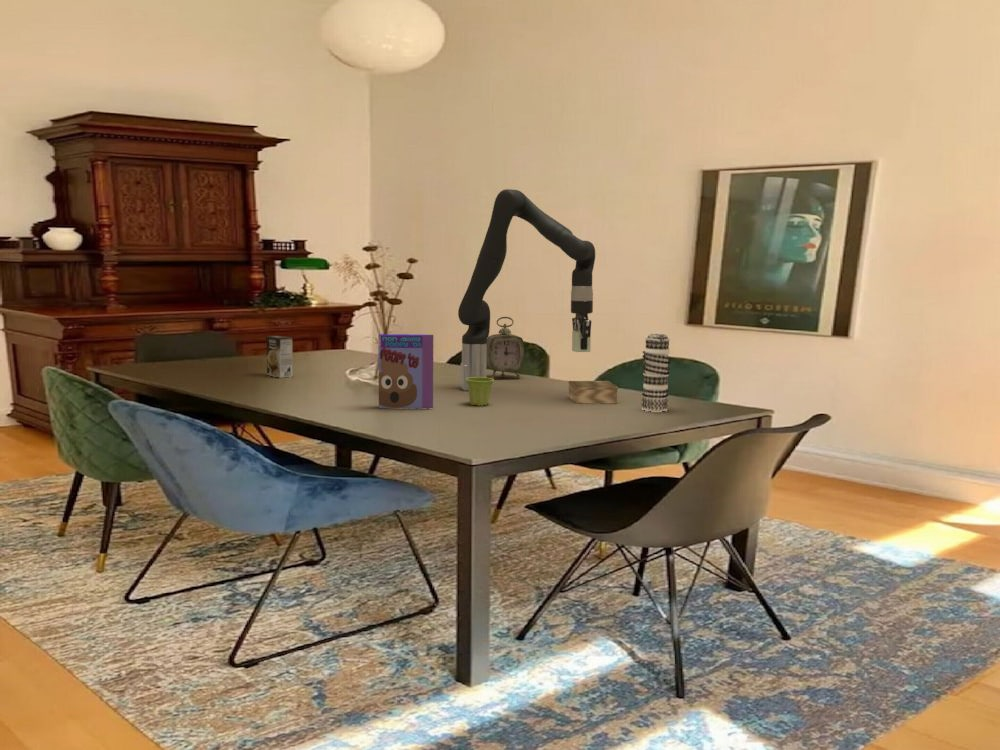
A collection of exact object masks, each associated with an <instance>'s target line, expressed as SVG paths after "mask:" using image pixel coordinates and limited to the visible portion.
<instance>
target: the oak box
mask: <svg viewBox="0 0 1000 750" xmlns="http://www.w3.org/2000/svg"><path fill="white" fill-rule="evenodd" d="M618 390H619V387H618V386H617V385H615V384H613V383H612V382H611V381H609V380H569V381H568V398H570V397H571V398H570V400H572V399H573V400H574V401H575V402H576V403H618ZM573 400H572V401H573ZM574 401H573V402H574ZM575 402H574V403H575ZM576 403H575V404H576Z"/></svg>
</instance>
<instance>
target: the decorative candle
mask: <svg viewBox="0 0 1000 750" xmlns="http://www.w3.org/2000/svg"><path fill="white" fill-rule="evenodd" d="M670 341H671V339H670V338H669V337H668V335H666V334H662V333H651V334H649V335H647V338H645V347H644V350H643V351H642V354H643V355H642V358H643V359H644V360H643V361H642V365H643V366H642V369H643V370H644V371H643V372H642V375H643V386H642V387H643V388H641V390H642V393H641V395H642V396H643V397H642V398H641V402H642V403H641V406H642V407H641V410H642V411H643V410H645V411H644V412H648V411H651V412H650V413H663V412H662V411H666V412H668V411H667V410H668V407H669V404H668V402H669V399H668V398H667V397H669V394H668V392H669V388H668V386H669V385H668V377H669V376H670V374H671V373H670V372H669V371H670V370H671V368H670V367H669V365H670V364H671V363H672V362H671V361H670V360H672V358H671V356H669V354H670Z"/></svg>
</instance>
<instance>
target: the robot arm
mask: <svg viewBox="0 0 1000 750" xmlns="http://www.w3.org/2000/svg"><path fill="white" fill-rule="evenodd" d="M496 195H497V196H496V197H495V200H494V204H493V207H492V212H491V217H490V221H489V225H488V228H487V230H486V234H485V236H484V240H483V243H482V245H481V248H480V251H479V254H478V257H477V260H476V264H475V266H474V270H473V272H472V275H471V277H470V281H469V284H468V286H467V289H466V291H465V293H464V295H463V297H462V299H461V302H460V305H459V307H458V313H457V314H458V315H457V316H458V319H459V322H460V323H461V324H462V325H465V326H468V327H467V330H466V332H464V333H463V334H462V336H461V362H460V370H459V371H460V374H459V375H460V376H459V377H460V379H459V380H460V382H459V383H460V387H459V388H460V389H462V391H469V389H468V384H467V381H466V378H470V377H486V378H487V371H488V370H487V367H488V366H487V339H488V336H490V330H491V329H490V327H491V309H490V306H489V304H488V302H486V301H485V300H483V299H484V297H485V294H486V293H487V290H488V289H489V288H490V287H491V285H492V284H493V282H495V280H496V278H497V277H498V276H499V275H500V273H501V270H502V269H503V266H504V263H505V259H506V256H507V251H508V250H507V247H508V246H507V245H508V244H507V243H508V242H507V239H508V231H509V227H510V224H511V222H512V220H513V217H518V218H519V219H522V220H524V221H525V222H527V223H528V224H530V225H531V226H533V227H534V228H535V230H537V232H538V233H539V234H540V235H541V236H542V237H544V238H545V239H546V240H547V241H549V242H550V243H552V244H553V245H555V246H556V247H558V248H559V249H560V250H561V251H562V252H564V253H565V254H566V256H568V257H569V258H570V259H573V260H574V261H575V267H574V269H573V270H572V272H571V290H570V291H571V292H570V313H571V314H575V316H574V317H572V320H571V322H572V331H579V332H580V336H581V349H582V350H586V349H587V339H588V337H590V332H591V333H592V331H591V330H592V320H589V316H588V315H589V314H592V313H593V312H594V311H593V307H594V297H593V296H594V290H593V271H594V268H595V267H594V266H595V260H596V248H595V246H594V244H593V242H591V241H589V240H582V239H580V238H579V237H577V236H576V235H574V234H573V231H571V229H569V228H568V227H566V226H564V224H562V223H560V222H559V221H557V220H556V219H554V218H553V217H551V216H550V215H549V214H547V213H545V212H544V211H543V210H542V209H541V208H539V207H538V206H537V205H536V204H535V203H534V202H533V201H532V200H531V199H530V198H528V197H527V195H525V194H524V193H523V192H522V191H520V190H518V189H508V188H506V189H502V190H500V192H499V193H498V194H496ZM585 332H586V334H585Z"/></svg>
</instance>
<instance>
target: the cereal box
mask: <svg viewBox="0 0 1000 750" xmlns="http://www.w3.org/2000/svg"><path fill="white" fill-rule="evenodd" d="M379 408H416V409H415V410H419V409H418V408H433V409H434V334H405V333H404V334H399V333H398V334H393V333H392V334H391V333H390V334H389V333H387V334H384V333H383V334H379V333H378V409H379Z"/></svg>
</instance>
